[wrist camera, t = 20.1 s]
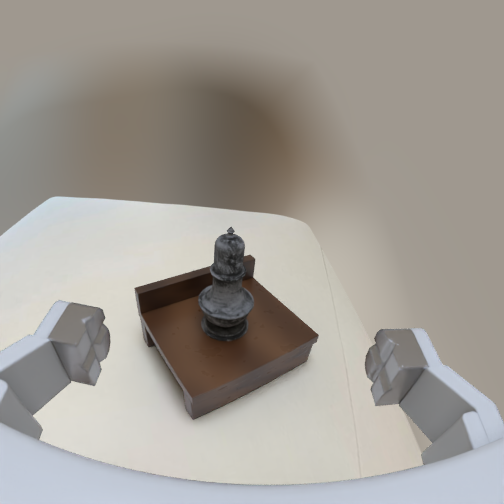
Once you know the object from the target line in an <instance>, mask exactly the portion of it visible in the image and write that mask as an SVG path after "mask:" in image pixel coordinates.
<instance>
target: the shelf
mask: <svg viewBox="0 0 504 504" xmlns="http://www.w3.org/2000/svg"><path fill="white" fill-rule="evenodd" d="M243 265H244V266H245V268H246V274H245V276H244V277H243V278H242V287H243V288H245V289H246V290H248V291H249V292H250V293H251V295H252V296H253V299H254V307H253V309H252V310H251V312H250V313H249V314H248V316H247V317H246V319H247V320H248V330H247V332H246V334H244V335H243V336H242V337H241V338H239V339H237V340H233V341H219V340H216V339H213V338H211V337H209V336H208V335H207V334H206V333H205V332H204V331H203V329H202V326H201V321H202V318H203V316H204V313H203V311H202V309H201V308H200V306H199V303H198V297H199V295H200V293H201V292H202V291H203V290H204V289H205V288H207V287H208V286H211V285H213V275H212V274H211V273H210V267H211V266H209V267H206V268H202V269H199V270H196V271H192V272H189V273H185V274H182V275H178V276H175V277H171V278H168V279H164V280H161V281H157V282H154V283H150V284H147V285H143V286H140V287H136V288H135V294H136V301H137V307H138V312H139V316H140V319H141V325H142V330H143V335H144V340H145V341H146V343H147V345H148V347H150V346H153V345H156V347H157V348H158V350H159V352H160V353H161V355H162V357H163V358H164V360H165V362H166V363H167V365H168V367H169V368H170V370H171V372H172V373H173V375H174V376H175V378H176V380H177V381H178V383H179V384H180V386H181V387H182V389H183V392H184V400H185V407H186V410H187V412H188V413H189V415H190V416H191V418H192V419H195V418H197V417H200V416H202V415H204V414H206V413H208V412H210V411H213V410H215V409H217V408H219V407H221V406H223V405H225V404H227V403H229V402H231V401H233V400H235V399H237V398H239V397H241V396H243V395H245V394H247V393H249V392H251V391H253V390H255V389H257V388H259V387H261V386H263V385H264V384H266V383H268V382H270V381H272V380H274V379H276V378H277V377H279V376H281V375H283V374H284V373H286V372H288V371H290V370H292V369H293V368H295V367H297V366H298V365H300V364H302V363H304V362H305V361H307V359H308V356H309V354H310V351H311V348H312V345H313V344H314V343H316V342H317V339H318V336H319V335H318V334H317V333H316V332H315V331H313V330H312V329H311V328H310V327H309V326H308V325H306V324H305V323H304V322H303V321H302V320H301V319H300V318H298V317H297V316H296V315H295V314H294V313H293V312H292V311H290V310H289V309H288V308H287V307H286V306H285V305H283V304H282V303H281V302H280V301H279V300H278V299H277V298H275V297H274V296H273V295H272V294H271V293H270V292H269V291H268V290H266V289H265V288H264V287H263V286H262V285H261V284H260V283H258V282H257V281H256V280H255V279H254V278H253V274H254V266H255V258H254V257H252V256H251V255H248V256H244V259H243Z"/></svg>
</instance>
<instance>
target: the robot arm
mask: <svg viewBox="0 0 504 504" xmlns="http://www.w3.org/2000/svg"><path fill="white" fill-rule="evenodd" d="M104 319H105V316H104V313H103V310H102V309H100V308H98V307H92V306H87V305H82V304H77V303H71V302H66V301H61V300H58V301H56V302H55V303H54V304H53V306H52V307H51V309H50V310H49V312H48V313H47V315H46V316H45V318H44V319H43V321H42V322H41V324H40V325H39V327H38V328H37V330H36V331H35V333H34V335H28V336H26V337H24V338H22V339H21V340H19V341H17V342H16V343H14V344H12V345H11V346H9V347H7V348H5V349H4V350H2V351H0V504H504V423H503V420H502V418H501V416H500V413H499V411H498V409H497V407H496V405H495V403H494V402H492V401H491V400H490V399H489V398H487V397H486V396H485V395H484V394H482V393H481V392H480V391H479V390H477V389H476V388H475V387H474V386H472V385H471V384H470V383H468V382H467V381H466V380H465V379H463V378H462V377H461V376H460V375H458V374H457V373H456V372H454V371H453V370H452V369H451V368H449V367H448V366H447V365H445V366H443V365H442V363H441V361H440V358H439V356H438V354H437V353H436V350H435V348H434V346H433V345H432V343H431V341H430V339H429V337H428V335H427V333H426V331H425V330H424V329H423V328H413V329H381V330H379V331H378V332H377V334H376V336H375V338H374V339H375V342H376V344H375V345H373V346H372V347H371V348H369V351H368V353H367V355H366V360H365V370H366V374H367V377H368V378H369V379H370V380H371V381H372V382H373V385H372V387H371V392H372V395H373V399H374V402H375V406H380V405H393V404H399V406H400V407H401V408H402V409H403V411H404V412H405V413H406V414H407V415H408V416H409V417H410V418H411V419H412V420H413V422H414V423H415V424H416V425H417V426H418V427H419V428H420V429H421V431H422V432H423V433H424V434H425V435H426V436H427V437H428V438H429V440H430V441H431V442H432V444H431V445H430V446H429V447H428V448H427V449H426V450H425V451H423V453H422V454H421V456H422V460H423V464H424V465H422V466H418V467H414V468H410V469H406V470H402V471H397V472H392V473H387V474H382V475H377V476H371V477H365V478H358V479H351V480H343V481H334V482H324V483H311V484H292V485H247V484H228V483H215V482H205V481H196V480H188V479H181V478H174V477H168V476H162V475H156V474H151V473H146V472H141V471H137V470H132V469H128V468H124V467H120V466H116V465H112V464H108V463H105V462H101V461H98V460H94V459H91V458H88V457H84V456H81V455H78V454H75V453H72V452H69V451H67V450H64V449H61V448H58V447H56V446H53V445H50V444H48V443H45V442H43V441H41V440H39V439H40V436H41V433H42V427H41V425H40V424H39V423H38V422H37V421H36V419H35V418H34V417H33V415H34V414H35V413H36V412H37V411H38V410H40V409H41V408H42V407H43V406H44V405H45V404H46V403H48V402H49V401H50V400H51V399H52V398H53V397H55V396H56V395H57V394H58V393H59V392H60V391H61V390H63V389H64V388H65V387H66V386H67V385H68V384H70V383H71V381H75V382H79V383H83V384H88V385H92V386H95V384H96V382H97V379H98V377H99V374H100V372H101V370H102V369H101V366H100V362H101V361H103V360H104V359H106V357H107V355H108V352H109V348H110V333H109V330H108V328H107V327H106V326H105V325H104V324H103V321H104Z"/></svg>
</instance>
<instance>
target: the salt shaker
mask: <svg viewBox="0 0 504 504" xmlns="http://www.w3.org/2000/svg"><path fill="white" fill-rule="evenodd" d="M227 232H228V234H224V235H221V236H219V237H218V239H217V240H216V242H215V251H214V263H213V264H212V265H211V267H210V273H211V274H212V275H213V285H211V286H208V287H207V288H205V289H204V290H203V291H202V292H201V293H200V295H199V297H198V303H199V306H200V308H201V309H202V311H203V313H204V316H203V318H202V321H201V326H202V329H203V331H204V332H205V333H206V334H207V335H208V336H209V337H211V338H213V339H216V340H219V341H233V340H237V339H239V338H241V337H242V336H243V335H244V334H246V332H247V330H248V320H247V319H246V317H247V316H248V314H249V313H250V312H251V310H252V309H253V307H254V299H253V296H252V295H251V293H250V292H249V291H248V290H246V289H245V288H243V287H242V278H243V277H244V276H245V274H246V268H245V266H244V265H243V259H244V249H245V244H244V241H243V240H242V238H241V237H239V236H237V235H235V234H233V233H234V232H235V231H234V230H233V228H232V227H230V228H229V229H228V230H227Z"/></svg>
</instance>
